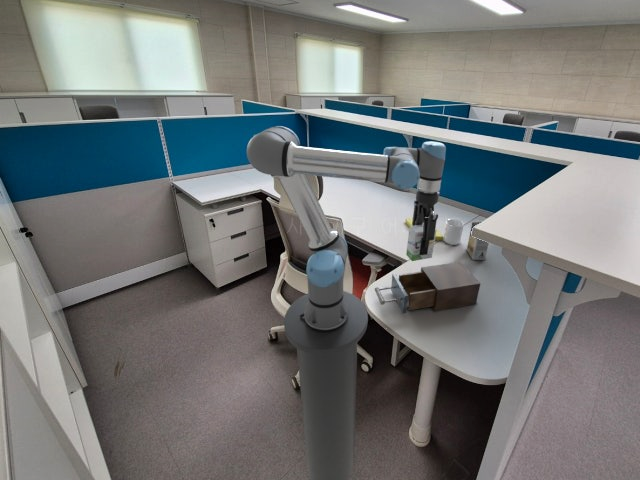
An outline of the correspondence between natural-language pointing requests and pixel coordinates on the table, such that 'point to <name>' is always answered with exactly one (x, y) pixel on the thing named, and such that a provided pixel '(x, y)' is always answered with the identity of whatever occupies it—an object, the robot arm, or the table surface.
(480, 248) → the coffee box
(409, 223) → the yellow flat slab
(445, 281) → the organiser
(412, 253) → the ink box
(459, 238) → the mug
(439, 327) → the table surface
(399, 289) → the drawer
